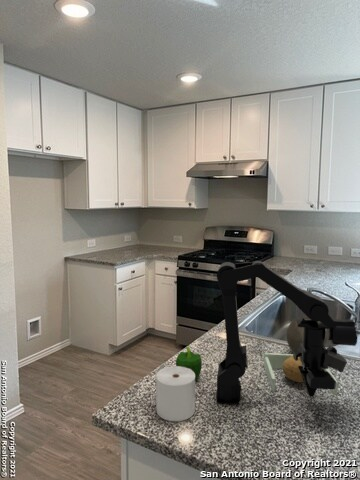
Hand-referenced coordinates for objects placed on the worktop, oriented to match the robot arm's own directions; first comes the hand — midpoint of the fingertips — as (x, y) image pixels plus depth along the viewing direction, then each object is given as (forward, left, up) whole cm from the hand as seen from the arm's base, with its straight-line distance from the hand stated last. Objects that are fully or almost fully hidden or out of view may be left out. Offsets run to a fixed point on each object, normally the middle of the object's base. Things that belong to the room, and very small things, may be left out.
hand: (311, 396), depth 96 cm
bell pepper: (-35, +12, -3) cm, 37 cm away
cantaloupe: (+7, +33, -3) cm, 34 cm away
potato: (+1, +15, -3) cm, 16 cm away
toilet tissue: (-38, -5, -3) cm, 39 cm away
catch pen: (0, +15, -3) cm, 15 cm away
